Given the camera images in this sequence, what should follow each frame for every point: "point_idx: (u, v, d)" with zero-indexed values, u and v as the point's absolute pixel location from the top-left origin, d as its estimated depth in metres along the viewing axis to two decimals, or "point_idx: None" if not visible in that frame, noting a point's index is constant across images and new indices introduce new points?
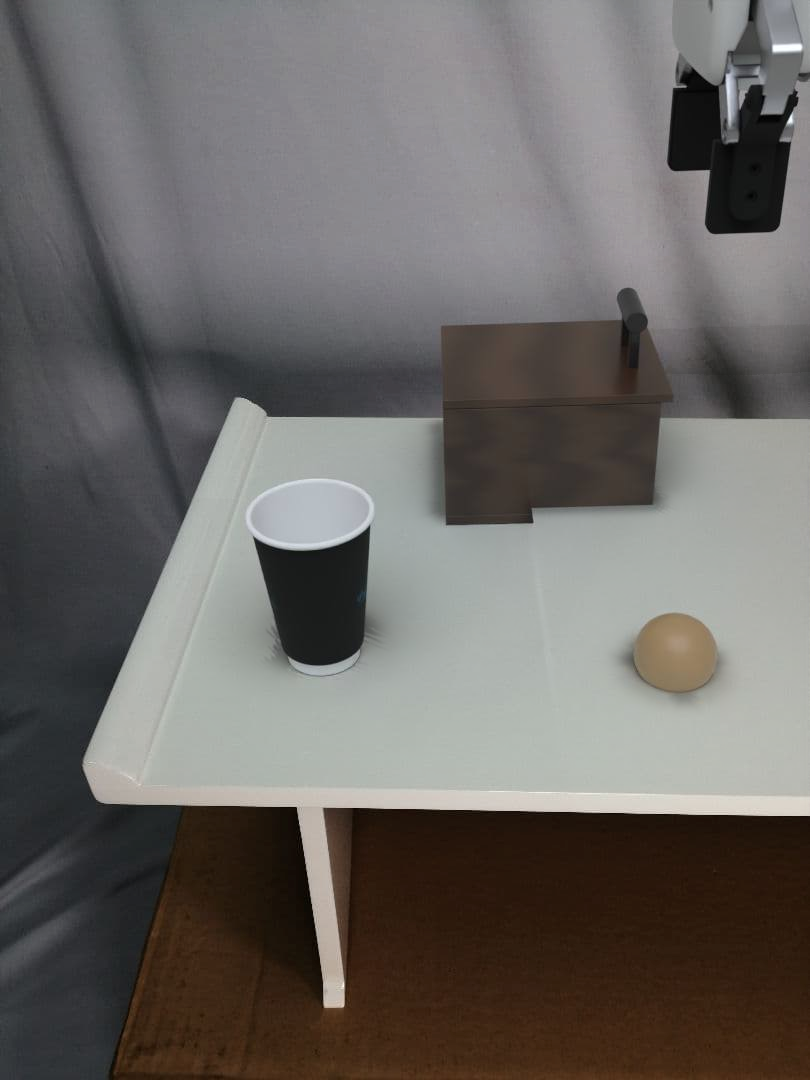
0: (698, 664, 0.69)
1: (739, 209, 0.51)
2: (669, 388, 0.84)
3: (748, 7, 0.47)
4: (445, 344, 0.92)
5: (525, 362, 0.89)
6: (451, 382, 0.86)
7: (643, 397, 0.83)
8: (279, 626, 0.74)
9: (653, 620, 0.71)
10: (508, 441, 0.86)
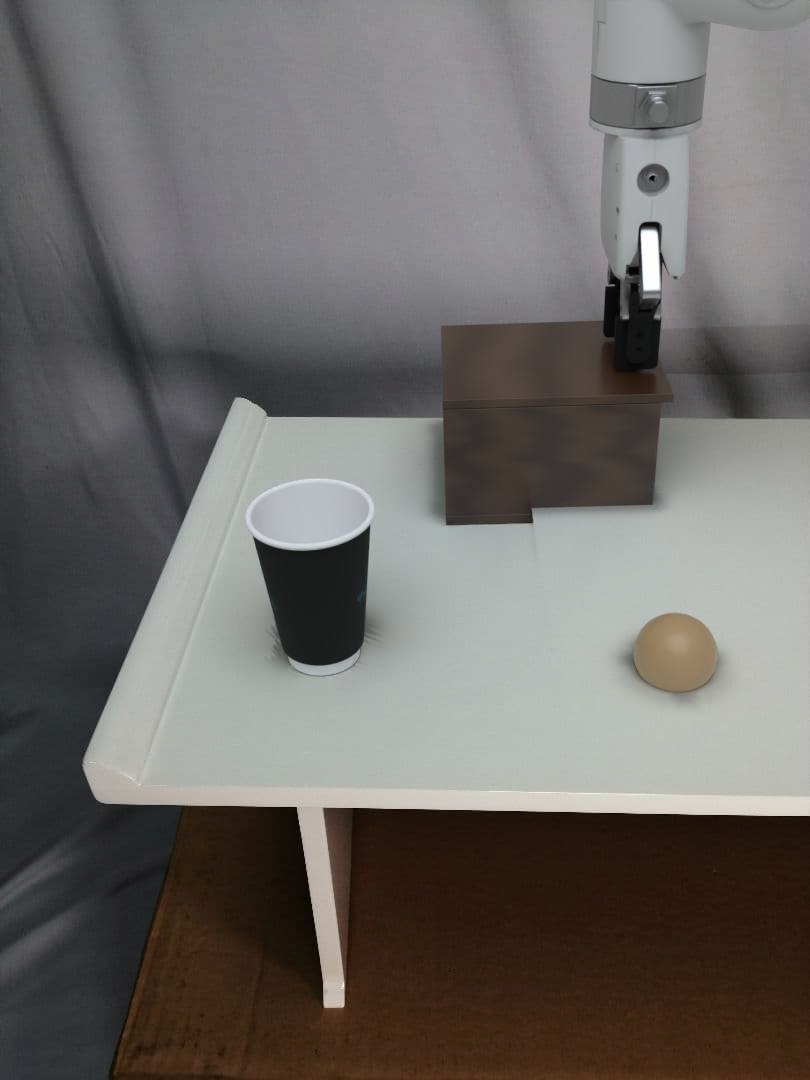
0: (698, 664, 0.69)
1: (631, 357, 0.85)
2: (669, 388, 0.84)
3: (637, 241, 0.79)
4: (445, 344, 0.92)
5: (525, 362, 0.89)
6: (451, 382, 0.86)
7: (643, 397, 0.83)
8: (279, 626, 0.74)
9: (653, 620, 0.71)
10: (508, 441, 0.86)
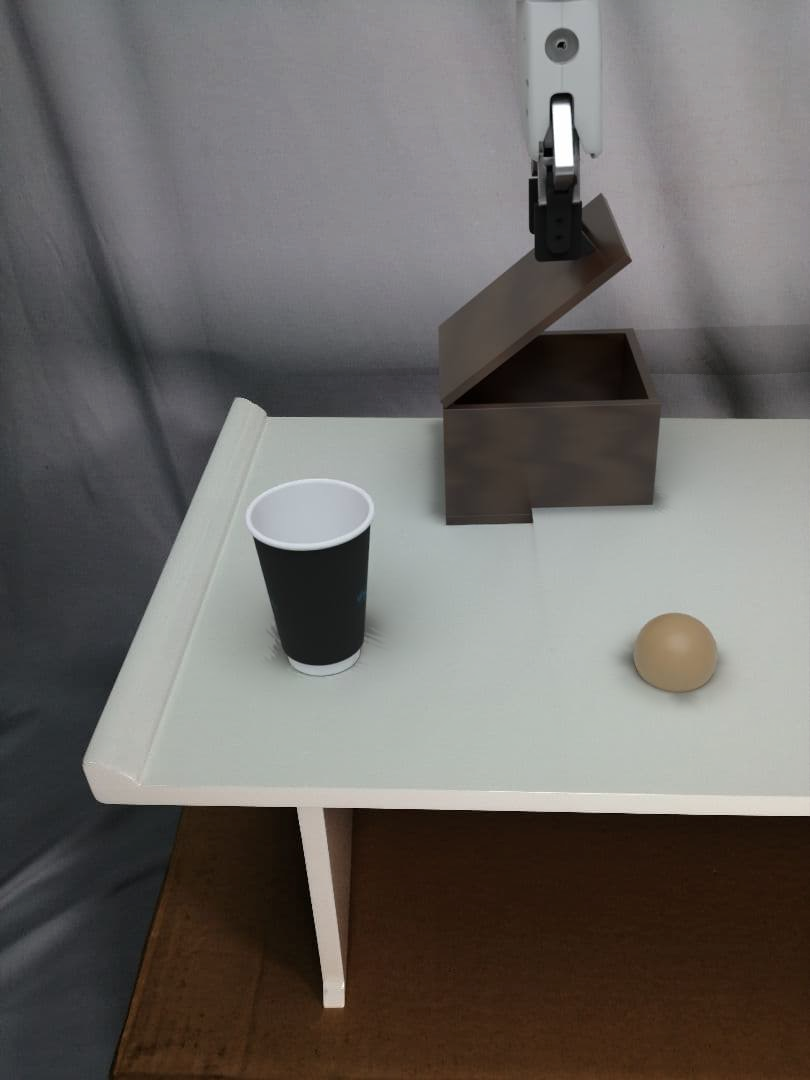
0: (698, 664, 0.69)
1: (552, 246, 0.80)
2: (622, 251, 0.78)
3: (549, 114, 0.75)
4: (441, 343, 0.92)
5: (503, 314, 0.87)
6: (445, 378, 0.86)
7: (602, 276, 0.79)
8: (279, 626, 0.74)
9: (653, 620, 0.71)
10: (508, 441, 0.86)
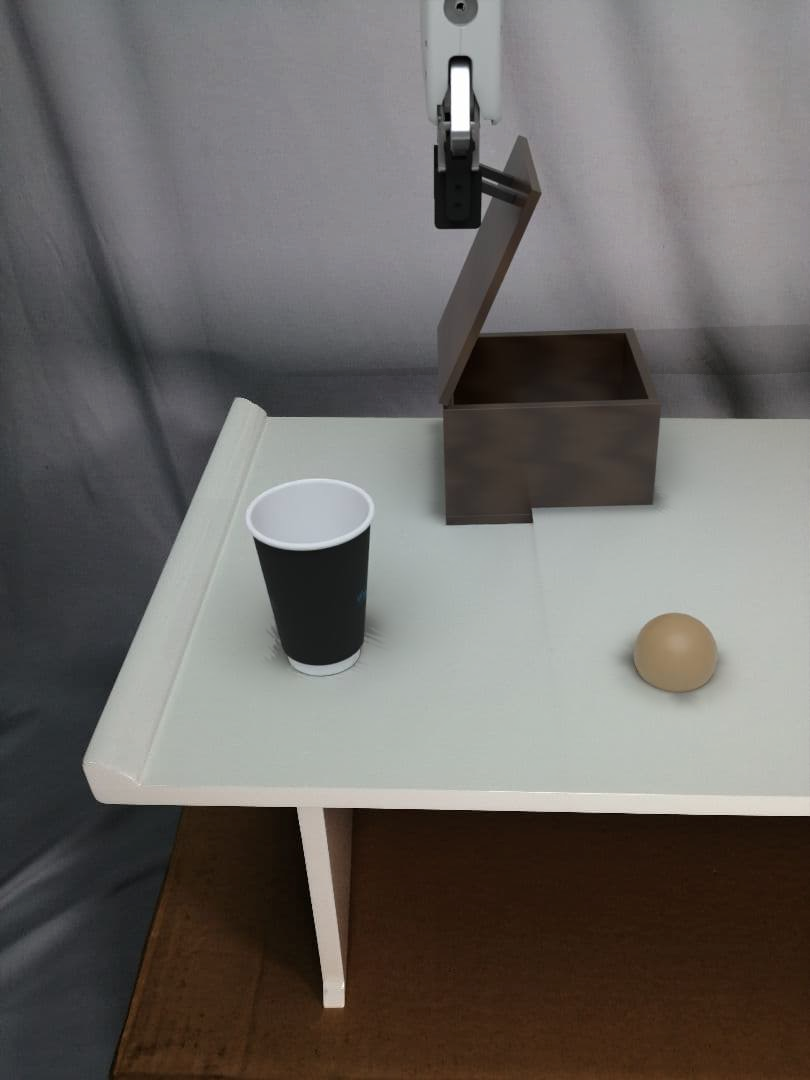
0: (698, 664, 0.69)
1: (451, 213, 0.79)
2: (530, 187, 0.76)
3: (447, 77, 0.74)
4: (438, 343, 0.92)
5: (469, 293, 0.86)
6: (441, 377, 0.86)
7: (522, 220, 0.77)
8: (279, 626, 0.74)
9: (653, 620, 0.71)
10: (508, 441, 0.86)
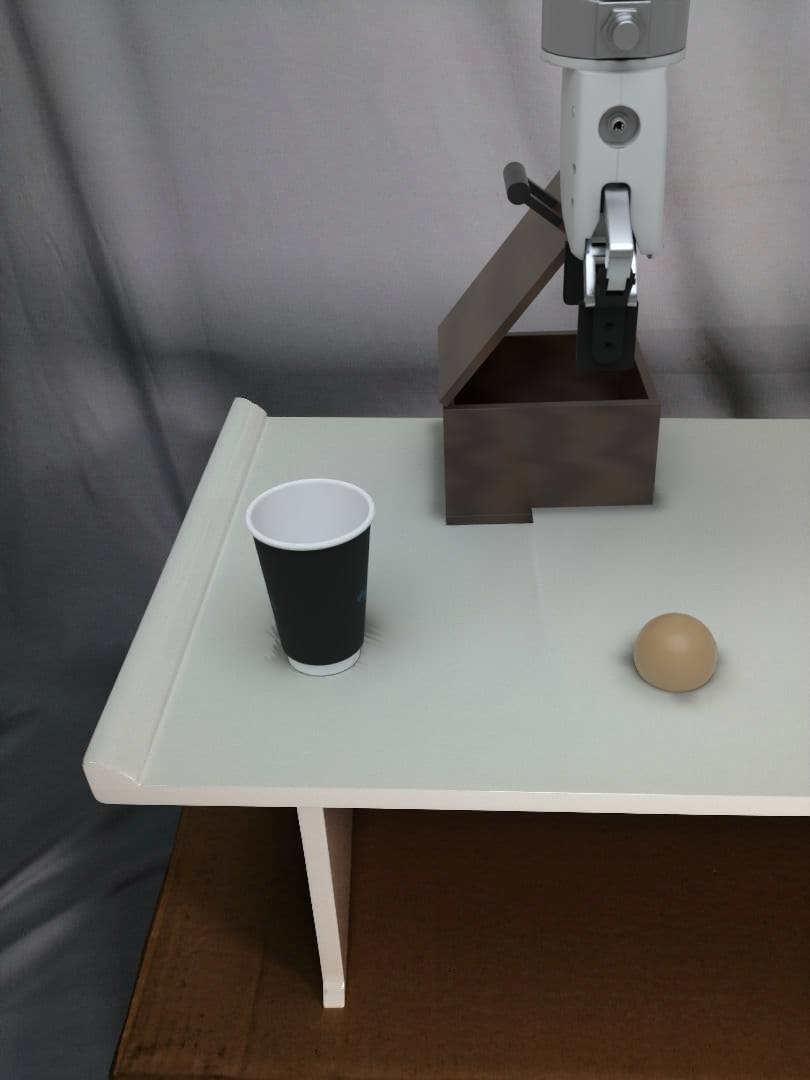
0: (698, 664, 0.69)
1: (599, 354, 0.65)
2: None
3: (599, 207, 0.61)
4: (440, 343, 0.92)
5: (488, 302, 0.86)
6: (443, 377, 0.86)
7: None
8: (279, 626, 0.74)
9: (653, 620, 0.71)
10: (508, 441, 0.86)
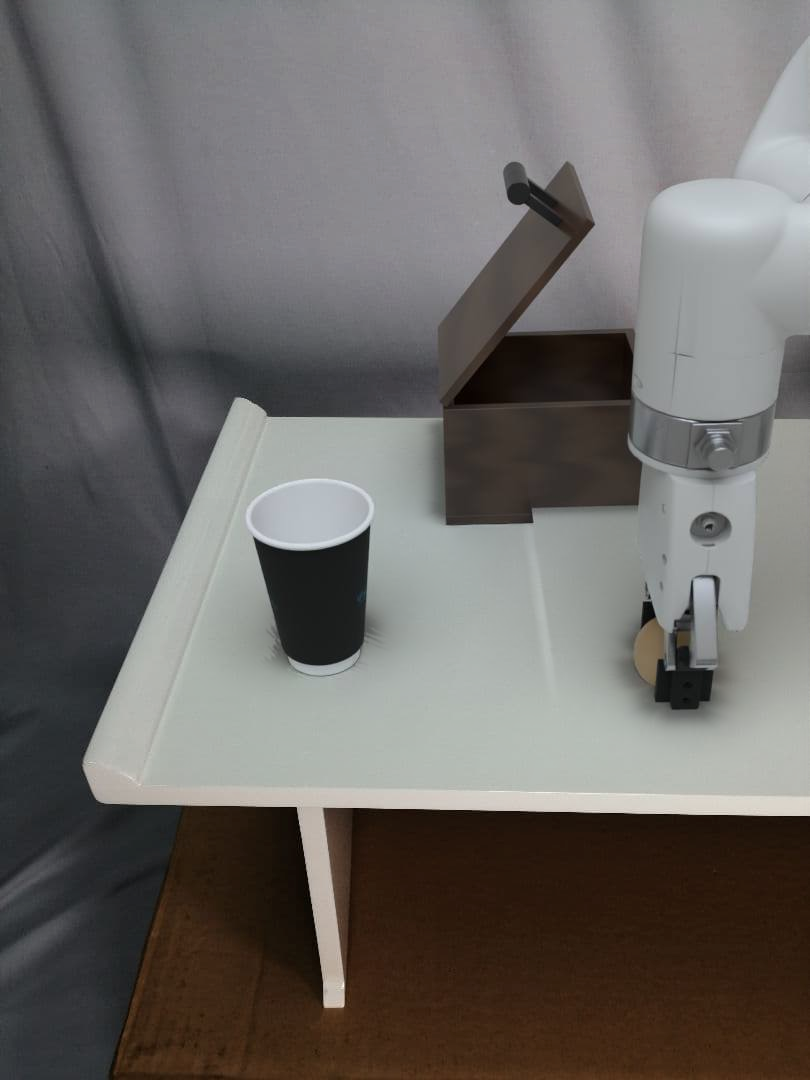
0: None
1: (677, 707, 0.69)
2: (584, 216, 0.77)
3: (689, 594, 0.63)
4: (440, 343, 0.92)
5: (488, 302, 0.86)
6: (443, 377, 0.86)
7: (569, 246, 0.78)
8: (279, 626, 0.74)
9: (653, 620, 0.71)
10: (508, 441, 0.86)
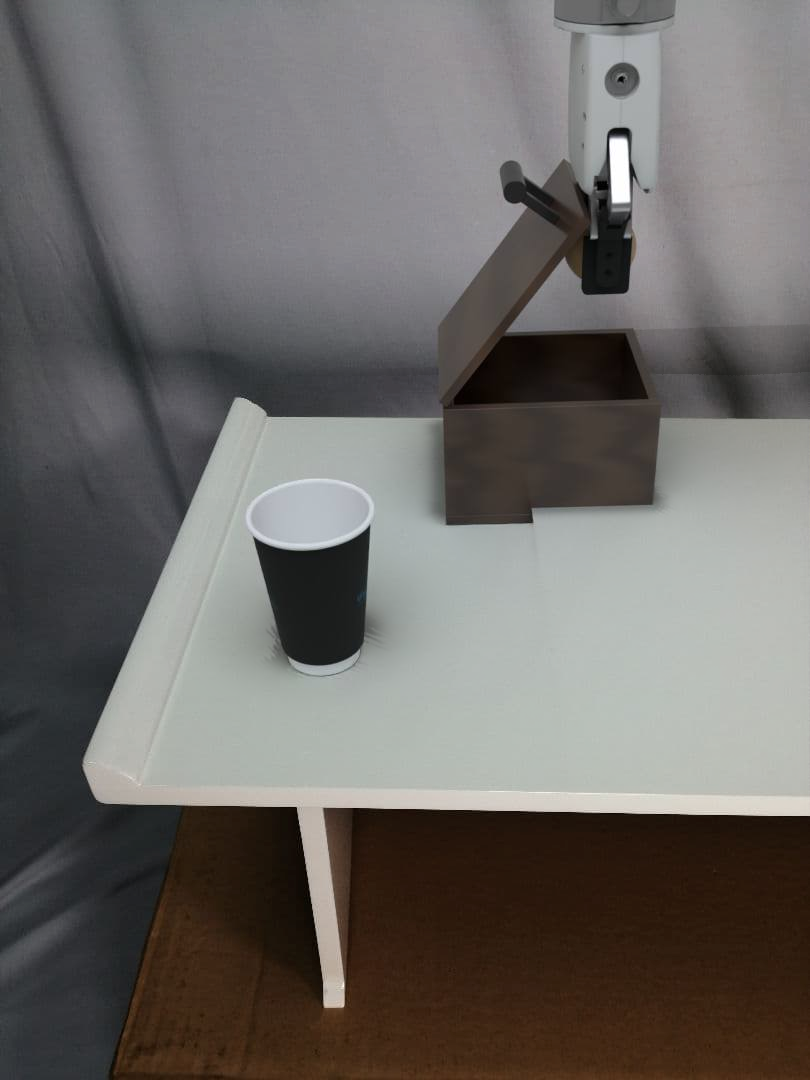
0: None
1: (601, 280, 0.79)
2: (580, 213, 0.77)
3: (606, 149, 0.74)
4: (440, 343, 0.92)
5: (487, 301, 0.86)
6: (443, 377, 0.86)
7: (566, 243, 0.77)
8: (279, 626, 0.74)
9: None
10: (508, 441, 0.86)
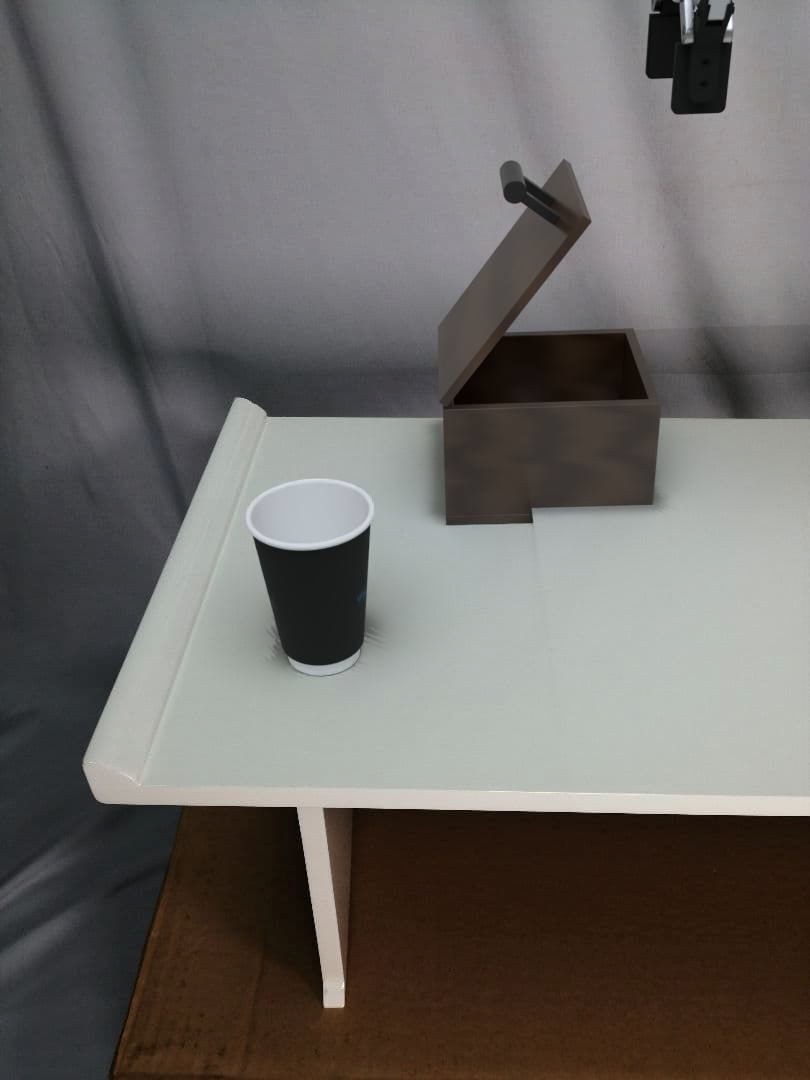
0: None
1: (695, 94, 0.69)
2: (580, 213, 0.77)
3: None
4: (440, 343, 0.92)
5: (487, 301, 0.86)
6: (443, 377, 0.86)
7: (566, 243, 0.77)
8: (279, 626, 0.74)
9: None
10: (508, 441, 0.86)
